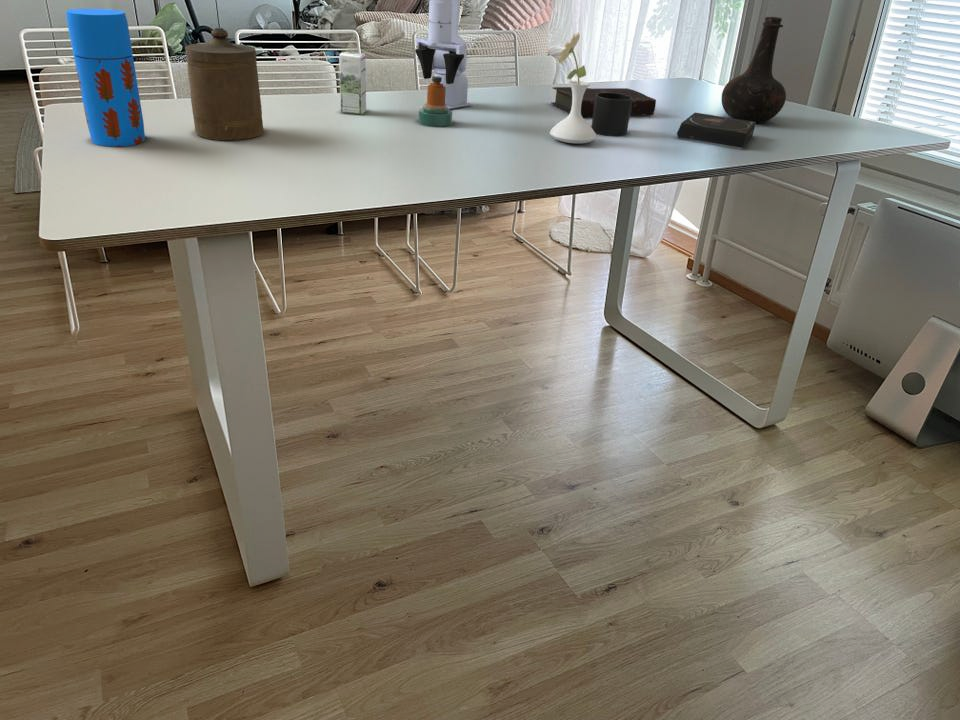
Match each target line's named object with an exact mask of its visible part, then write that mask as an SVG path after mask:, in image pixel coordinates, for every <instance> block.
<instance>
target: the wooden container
mask: <svg viewBox="0 0 960 720" xmlns="http://www.w3.org/2000/svg"><path fill="white" fill-rule="evenodd" d="M211 37H212V39H211V40H210V42H202V43H201V42H200V43H199V42H198V43H192V44H188V45H186V46H185V58H186V62H187V64H186V65H187V77H188V84H189V94H190V103H191V104H190V105H191V110H192V116H193V117H192V118H193V124H194V132H195V134H196V135H197V136H198V137H201V138H204V139H209V140H216V141H241V140H249V139H253V138H257V137H260V136H261V135H263V134H264V123H263V110H262V100H261V99H262V98H261V91H260V82H259V73H258V65H257V60H258V59H257V51H256V48H255V47H253V46H250V45H246V44H240V43H231V42H230V41H229V40H228V37H229V34H228V31H227V30H226V29H224V28H223V27H215V28H213V29H212V30H211Z"/></svg>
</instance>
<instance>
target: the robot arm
mask: <svg viewBox="0 0 960 720" xmlns="http://www.w3.org/2000/svg"><path fill="white" fill-rule="evenodd" d="M428 2H429V3H428V32H427V33H428V35H427V36H428V37H415V47H417V48H415V49H414V52H415V54H416V56H417V59H418V61H419V64H420V68H421V72H422V76H423V79H424V80H429V79H432V75H433V73H434V76H438V77H442V82H440V83H442V84H443V86H445V87H446V93H445V103H446V107H448V108H449V110H452V109H458V108H464V107H468V106H470V104H469V103H468V90H469V89H468V87H469V80H468V78H467V75H466V74H465V71H466V70H467V62H468V61H467V60H468V44H467V42H466V41H465V39H464V38H462V37H461V36H460V35H459V26H460V25H459V24H460V23H459V22H460V11H461V10H460V9H461V8H460V7H461V0H428Z"/></svg>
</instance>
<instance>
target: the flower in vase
mask: <svg viewBox="0 0 960 720" xmlns="http://www.w3.org/2000/svg"><path fill="white" fill-rule="evenodd" d="M580 37H581V34H580V32H577V33H574V34H572V36H571V39H570V41H569V42H568V41H567V42H566V43H565V45H564V48H563V49H562V51H560V52H559V54H558V58H557V59H556V62H558V64H562V63H563V62H564V61H565V60H566V59H568V57H569V56H570V55H571V54H572V56H573V58H574V62H575V67H576V68H575V69H573V70H571V71H570V72H569V73H568V75H567V77H566V79H567V80H570V81H568V84H569V87H571V89H572V108H571V112H570V113H568V115H567V116H566V117H565V118H563V119H561V121H559V122H558V123H556V124H555V125H554V126H553V127H552V128H551V129H550V131H549V134H550V136H551V138H553V139H555V140H557V141H559V142H564V143H567V144H587V143H591V142H593V141H594V140H595V139H596V138H597V133H595V132H594V130H593V129H592V128H591V125H590V124H589V123H588V122H587V121H586V119H584V118H583V117H584V116H581V103H582V99H583V95H584V92H585V90H586V89H587V88H589V86H590V85H591V84H590V83H589V82H587V81H580V79H581V78H583V77H585V76H587V71H586V70H587V69H586V66H585V64H583V65H582V66H581V67H579V65H578V60H577V57H576V54H575V51H574V49H575V48H576V46H577V44H578V43H579V40H580ZM575 76H576V77H577V80H571V79H573V78H574V77H575Z"/></svg>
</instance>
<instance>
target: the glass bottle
mask: <svg viewBox="0 0 960 720" xmlns="http://www.w3.org/2000/svg"><path fill="white" fill-rule="evenodd" d="M782 21H783V18H782V17H777V16H765V17H764V22H763V23H762V25H763V26H762V30H761V33H760V37H759V40H758V43H757V46H756V48H755V51H754V54H753V57H752V59H751V61H750V63H749V65H748V67H747V68H746V70H745V72H743V73H742V74H740V75H738V76H735V77H734V78H731V79H730V80H729V81H728V82H727V83H726V84H725V86H724V87H723V88H722V89H723V90H722V92H721V105H722V109H723V111H724V112H725V114H726V115H727V116H728V117H729V118H734V119H740V120H747V121H753V122H756V124H763V123H766V122H769V121H770V120H772V119H774V118H775V117H776V116H777V115H778V114H779V113H780V111H781V110H783V107H784V106H785V104H786V100H787V92H786V89H785V87H784V85H783V84H782V83H781V82H780V81H778V80H777V79H776V78H774V75H773V63H774V56H775V50H776V46H777V40H778V35H779V32H780V29H781V28H783V27H784V25H783V24H782Z"/></svg>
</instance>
